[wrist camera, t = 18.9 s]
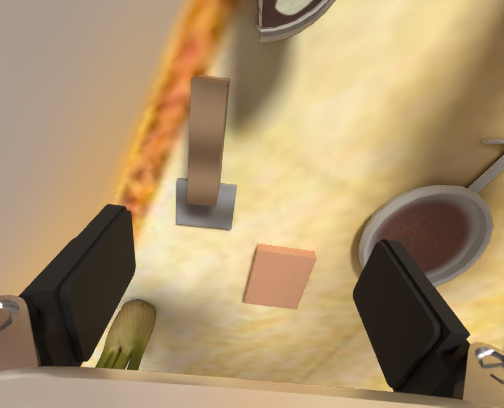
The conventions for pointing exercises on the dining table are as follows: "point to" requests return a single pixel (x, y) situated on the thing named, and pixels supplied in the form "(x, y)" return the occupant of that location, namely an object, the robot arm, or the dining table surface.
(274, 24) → the food container
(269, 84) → the dining table surface
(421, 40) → the dining table surface
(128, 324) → the fennel bulb
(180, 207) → the plate
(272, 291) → the tile
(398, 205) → the frying pan
